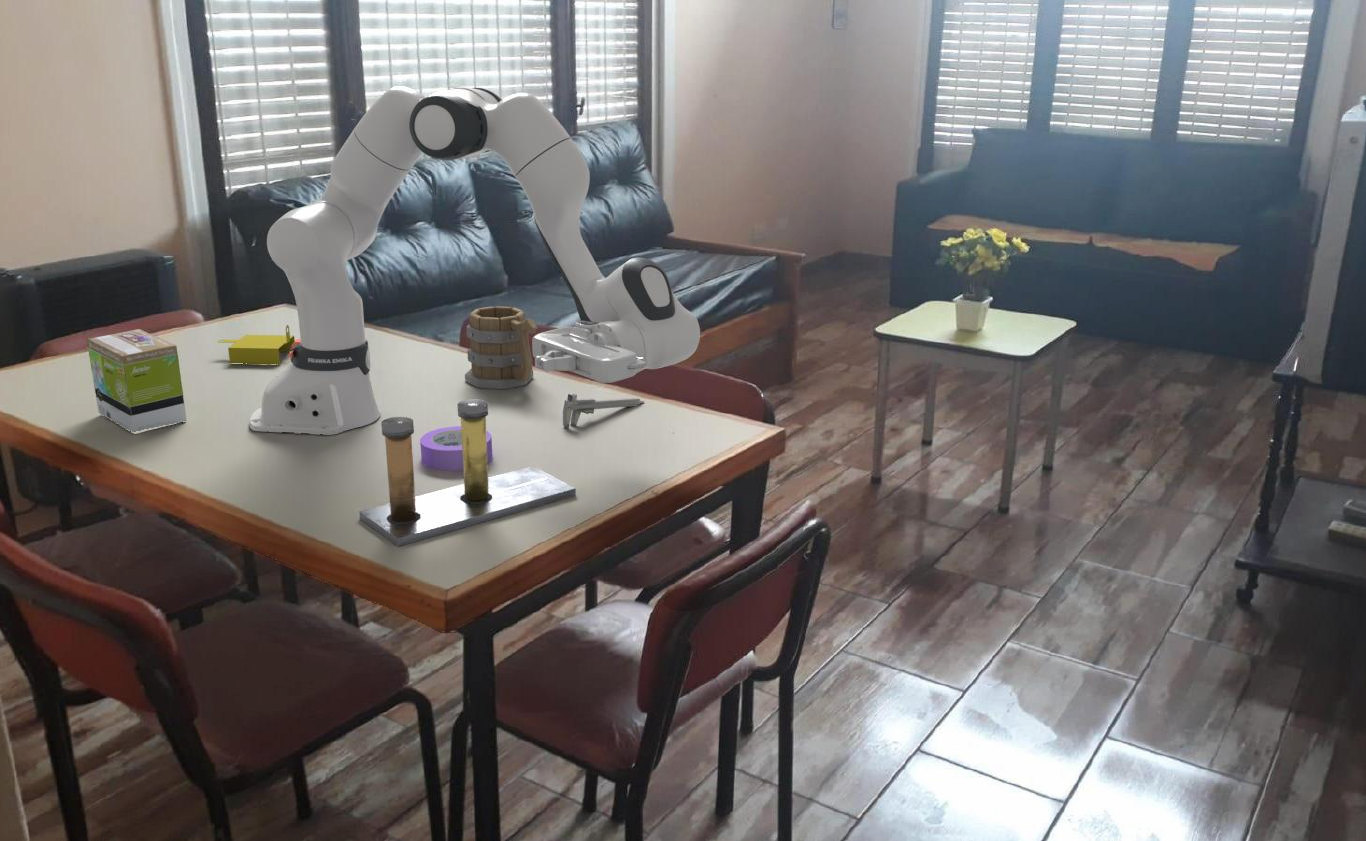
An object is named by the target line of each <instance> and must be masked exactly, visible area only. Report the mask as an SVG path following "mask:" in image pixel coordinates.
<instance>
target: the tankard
mask: <svg viewBox="0 0 1366 841" xmlns="http://www.w3.org/2000/svg"><path fill="white" fill-rule="evenodd" d="M468 316H469V318H468V319H469V324H468V325H466V338H468V339H470V341H469V342H470V348H468V349H467V351H466V352H467V361H468V362H470V363H471V368H470V369H469V370H468V371H467V372H466V373H465V374H464V381H465V382H466V383H468V384H470V385H472V386H473V387H475V388H478V389H485V390H486V389H487V390H488V389H489V390H506V389H512V388H517V387H522V386H523V387H524V386H526V385H527V384H529V382H530V381H531V380H532V379H534V370H533V357H532V356H533V355H532V352H531V347H530V341H529V334H530V335H534V334H535V335H536V333H537V330H538V327H537V325H536V324H535V322H534V321H533V319H532V318H525V317H526V315H525V311H524V310H522V309H519V308H517V307H514V306H500V305H499V306H498V305H496V306H495V307H494V305H493V306H488V307H487V306H486V307H485V306H484V307H481V308H475V309H474V310H473V311H471V312H470V313H469V315H468Z"/></svg>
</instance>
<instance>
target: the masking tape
mask: <svg viewBox="0 0 1366 841" xmlns="http://www.w3.org/2000/svg"><path fill="white" fill-rule="evenodd" d="M486 437H487V461H488V463H490V462H491V460H492V459H493V440H492V434H491V432H490V431H488V430H486ZM419 444H420V446H419V447H420V454H421V456H420V457H421V462H422V464H423V465H424V466H425V467H427V468H430V469H434V470H439V471H448V472H449V471H451V472H453V471H456V472H457V471H463V451H462V431H461V425H459V426H458V425H457V426H455V425H454V426H446V427H441V428H437V429H433V430H430V431H429V432H426V433H424V435H423V434H422V436H421V437H420V440H419Z"/></svg>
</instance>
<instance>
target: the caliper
mask: <svg viewBox="0 0 1366 841" xmlns="http://www.w3.org/2000/svg"><path fill="white" fill-rule="evenodd" d="M577 397H578V394H576V393H572V394H570V393H568V394H567V398H566V399H565V400H564V403H563V408H562V426H563V427H565V428H568V429H569V428H570V426H572V427H577V425H578V423H579V419H580V417H581V413H584V414H587V415H589V414H594V412H595V410H602V409H614V408H615V409H616V408H629V407H631V408H632V407H636V406H639V405H640V404H645V401H644V400H641V399H640V398H639V397H629V398H628V397H626V398H625V397H623V398H622V397H621V398H612V399H609V398H608V399H595V398H589V397H588V398H577ZM638 404H639V405H638Z"/></svg>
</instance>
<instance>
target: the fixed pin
mask: <svg viewBox="0 0 1366 841" xmlns="http://www.w3.org/2000/svg"><path fill="white" fill-rule="evenodd" d="M414 424H415V423H414V419H413V418H410V417H407V416H394V417H393V416H392V417H389V418H386V419H383V420H382V421H381V423H380V426H381V435H382V436H383V437H384V439H385V453H386V454H385V455H386V466H387V483H388V484H387V485H388V496H389V497H388V498H389V503H390V512H391V520H393V521H395V522H409V521H412V520H414V519H415V518H416V502H415V497H416V492H415V491H416V487H415V475H414V474H415V473H414V472H415V471H414V470H415V469H414V457H413V454H414V453H413V444H412V443H413V442H412V440H413V439H412V435H413V434H414V433H415V429H414V428H415V425H414Z"/></svg>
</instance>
